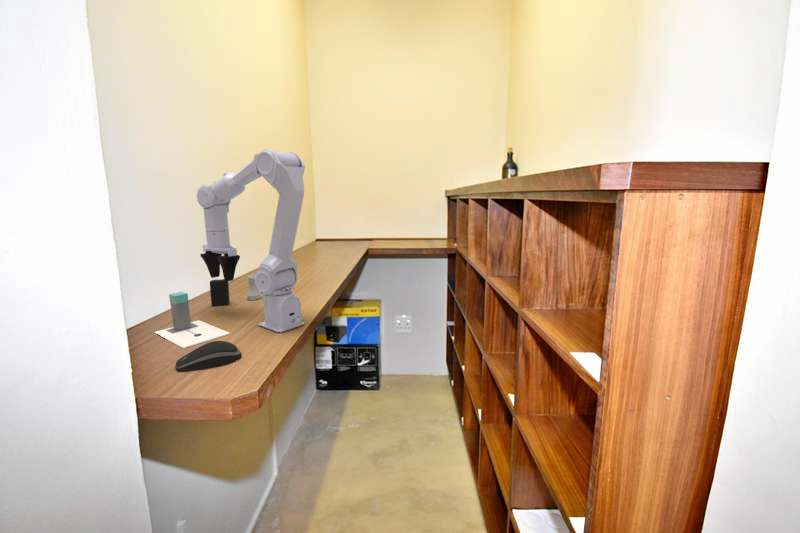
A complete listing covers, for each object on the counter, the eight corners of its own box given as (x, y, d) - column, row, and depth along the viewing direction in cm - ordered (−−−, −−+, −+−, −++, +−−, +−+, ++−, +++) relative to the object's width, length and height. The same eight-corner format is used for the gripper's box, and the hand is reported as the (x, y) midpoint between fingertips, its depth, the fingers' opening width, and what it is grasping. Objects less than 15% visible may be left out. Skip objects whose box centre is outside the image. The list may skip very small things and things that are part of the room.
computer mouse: (175, 363, 79) (173, 345, 78) (238, 350, 85) (237, 333, 84) (176, 377, 73) (173, 358, 72) (244, 362, 79) (242, 344, 78)
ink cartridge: (230, 303, 120) (228, 278, 118) (229, 305, 118) (227, 280, 116) (213, 304, 119) (210, 279, 117) (211, 306, 116) (209, 281, 115)
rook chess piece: (256, 301, 122) (254, 276, 121) (243, 300, 123) (241, 276, 122) (263, 297, 126) (262, 273, 125) (251, 296, 127) (249, 273, 126)
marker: (191, 327, 97) (187, 293, 96) (178, 331, 95) (174, 296, 93) (186, 325, 99) (182, 291, 97) (173, 328, 97) (168, 294, 95)
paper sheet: (230, 334, 94) (230, 332, 94) (183, 348, 85) (183, 347, 85) (199, 321, 103) (198, 319, 103) (154, 333, 95) (153, 331, 95)
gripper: (189, 230, 106) (195, 278, 108) (216, 233, 97) (221, 285, 100) (214, 228, 111) (219, 273, 114) (242, 231, 102) (246, 280, 105)
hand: (222, 278), depth 107 cm, fingers open, 7 cm apart
